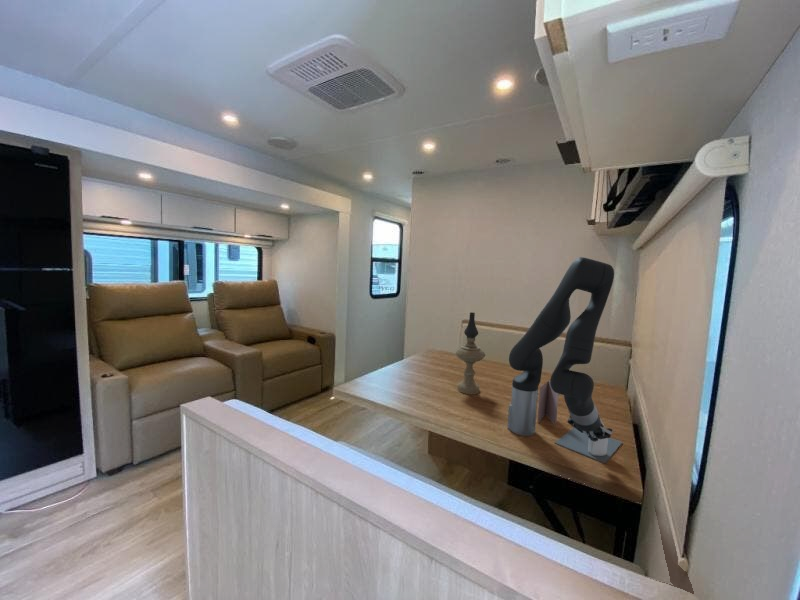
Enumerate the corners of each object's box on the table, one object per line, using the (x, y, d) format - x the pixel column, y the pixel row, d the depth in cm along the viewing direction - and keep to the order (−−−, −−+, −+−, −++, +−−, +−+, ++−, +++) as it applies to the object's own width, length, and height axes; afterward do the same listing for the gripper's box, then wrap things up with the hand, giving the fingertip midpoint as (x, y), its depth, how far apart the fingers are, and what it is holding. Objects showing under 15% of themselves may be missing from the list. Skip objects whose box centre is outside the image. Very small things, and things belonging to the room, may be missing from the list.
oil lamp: (451, 392, 165) (454, 313, 162) (455, 383, 179) (459, 310, 176) (482, 397, 161) (486, 315, 157) (484, 387, 175) (488, 312, 171)
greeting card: (543, 413, 145) (546, 380, 143) (562, 418, 140) (564, 384, 139) (535, 422, 136) (537, 386, 134) (554, 428, 131) (557, 391, 130)
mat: (554, 443, 119) (554, 442, 119) (575, 426, 133) (575, 425, 133) (604, 463, 108) (604, 462, 108) (622, 443, 121) (622, 442, 121)
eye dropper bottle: (607, 459, 110) (610, 424, 109) (588, 454, 112) (591, 420, 111) (606, 452, 114) (609, 419, 113) (587, 448, 116) (590, 415, 115)
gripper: (612, 409, 96) (620, 436, 106) (565, 395, 106) (576, 421, 116) (604, 432, 93) (613, 457, 103) (556, 416, 103) (569, 440, 113)
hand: (594, 438), depth 109 cm, fingers closed
